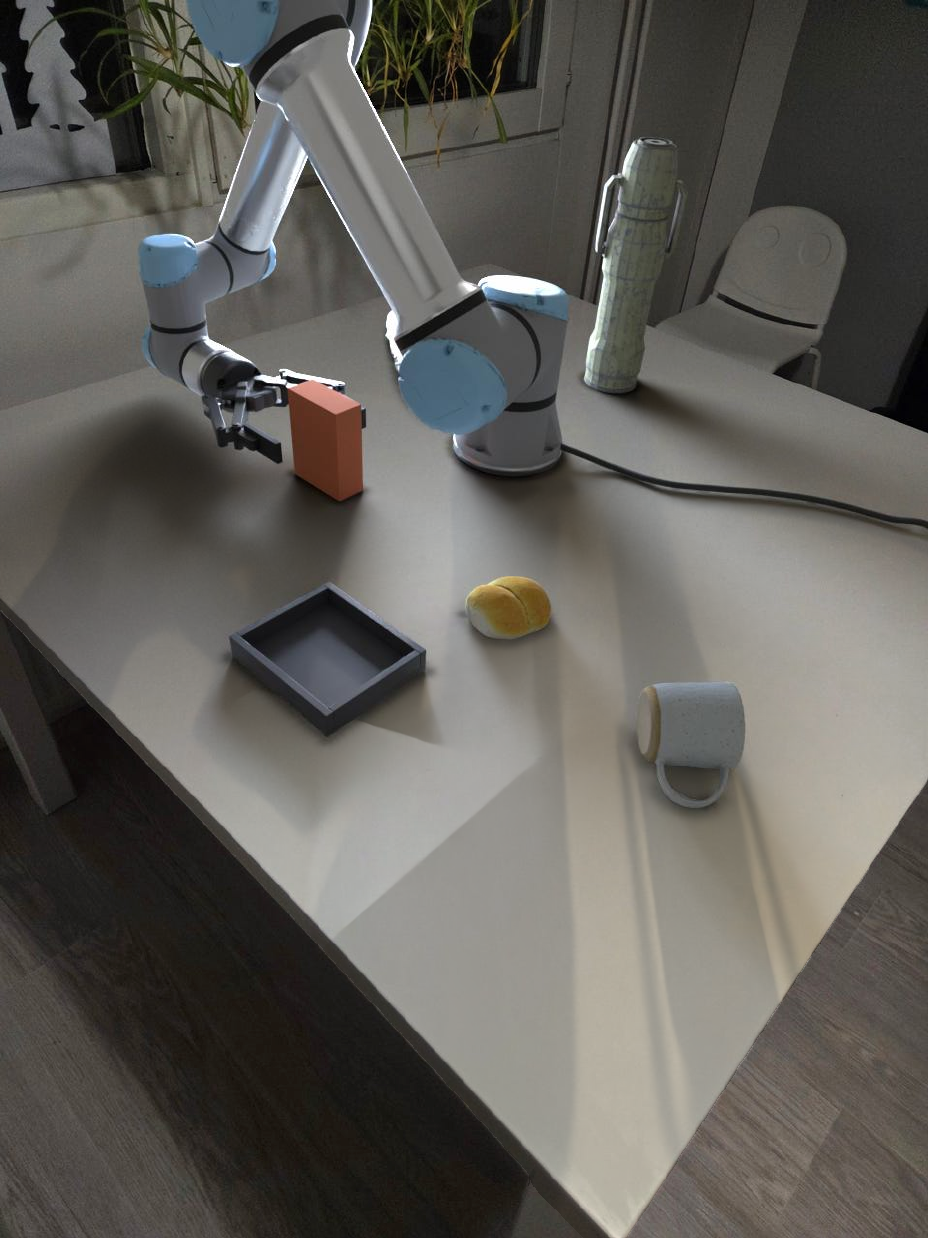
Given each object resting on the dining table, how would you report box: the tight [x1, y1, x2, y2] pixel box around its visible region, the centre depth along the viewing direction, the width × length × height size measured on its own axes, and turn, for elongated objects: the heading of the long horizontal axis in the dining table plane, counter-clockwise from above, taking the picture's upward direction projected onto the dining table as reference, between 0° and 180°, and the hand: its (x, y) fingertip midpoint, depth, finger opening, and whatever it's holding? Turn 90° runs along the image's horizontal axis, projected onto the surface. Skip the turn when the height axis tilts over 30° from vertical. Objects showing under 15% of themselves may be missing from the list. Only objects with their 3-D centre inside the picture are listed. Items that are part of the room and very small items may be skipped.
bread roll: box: [465, 576, 552, 640], centre depth 88 cm, size 8×9×4 cm
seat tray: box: [228, 581, 427, 738], centre depth 81 cm, size 13×15×3 cm
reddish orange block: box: [287, 379, 364, 502], centre depth 103 cm, size 4×9×12 cm, turn 47°
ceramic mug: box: [636, 681, 746, 809], centre depth 72 cm, size 11×8×8 cm
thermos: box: [583, 136, 689, 394], centre depth 124 cm, size 9×12×35 cm
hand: (323, 435), depth 103 cm, fingers open, 13 cm apart
